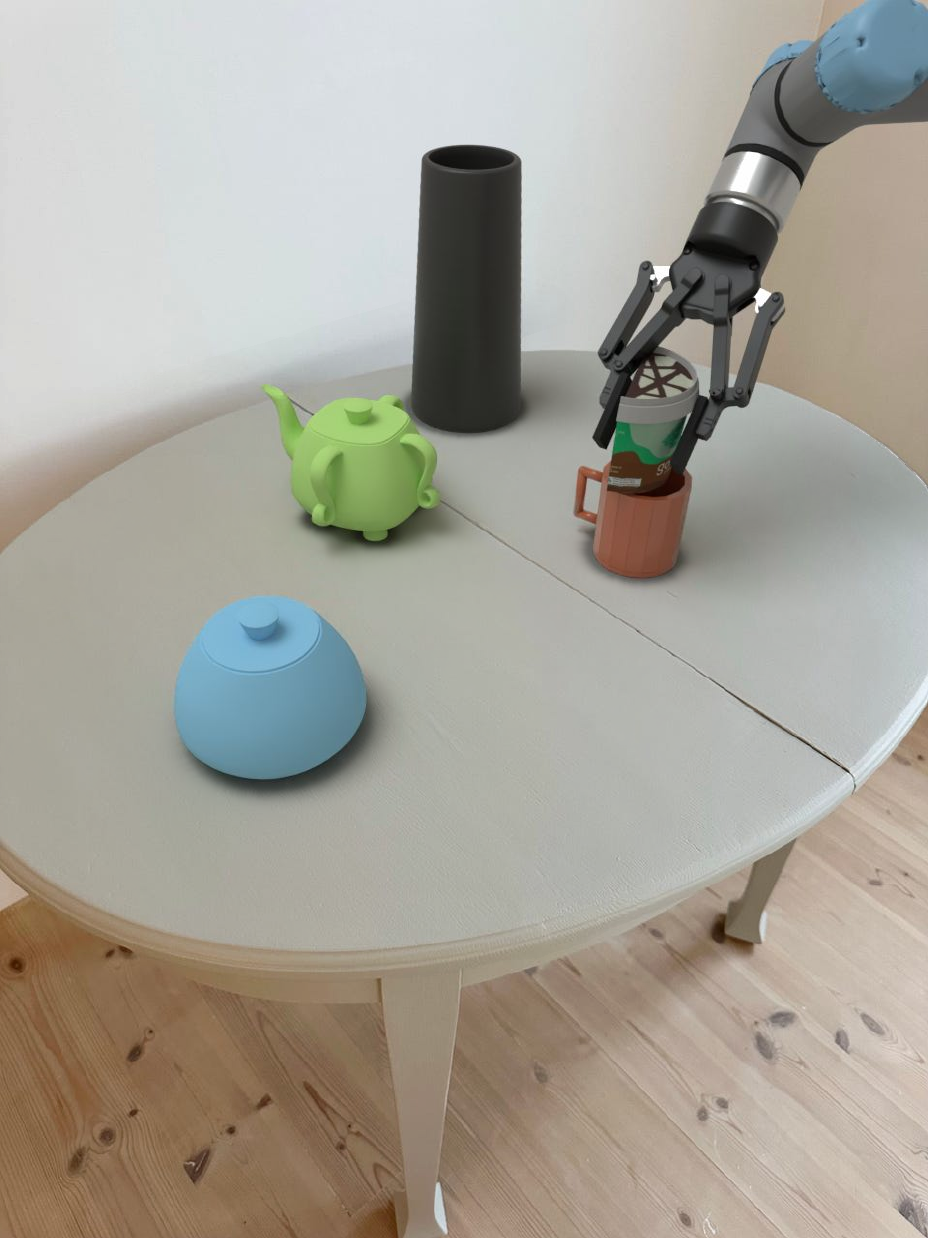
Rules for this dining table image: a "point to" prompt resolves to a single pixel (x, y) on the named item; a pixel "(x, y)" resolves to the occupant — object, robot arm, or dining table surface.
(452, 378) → the vase
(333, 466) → the teapot
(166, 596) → the dining table surface
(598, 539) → the mug
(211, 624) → the sugar bowl
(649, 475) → the food container
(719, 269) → the robot arm
